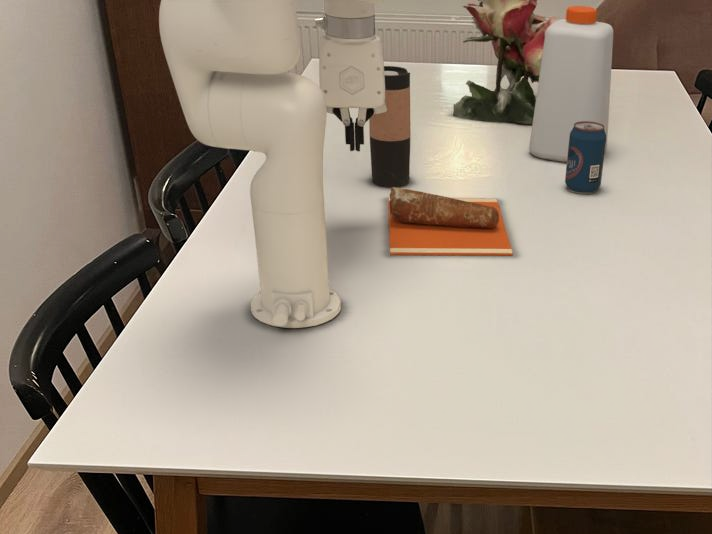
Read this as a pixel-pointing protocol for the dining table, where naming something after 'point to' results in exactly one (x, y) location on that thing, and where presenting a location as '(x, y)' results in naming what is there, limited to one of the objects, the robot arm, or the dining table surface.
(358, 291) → the dining table surface
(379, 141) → the travel mug
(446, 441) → the dining table surface
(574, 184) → the soda can
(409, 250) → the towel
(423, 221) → the bread
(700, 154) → the dining table surface
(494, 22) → the rose bouquet
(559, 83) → the plastic bottle
